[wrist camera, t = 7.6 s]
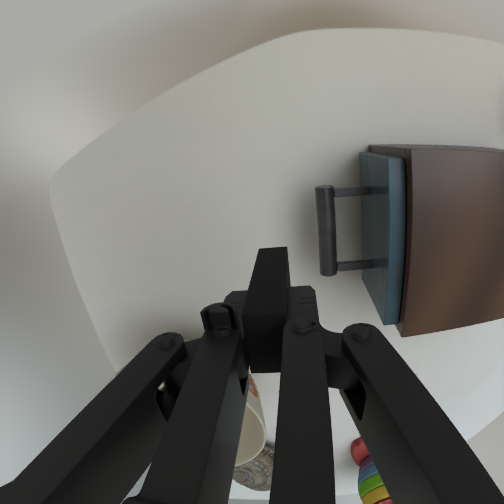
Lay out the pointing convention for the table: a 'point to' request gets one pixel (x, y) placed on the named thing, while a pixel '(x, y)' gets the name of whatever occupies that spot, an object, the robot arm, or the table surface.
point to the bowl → (247, 425)
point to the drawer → (372, 230)
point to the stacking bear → (368, 476)
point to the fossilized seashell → (256, 471)
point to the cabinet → (451, 236)
